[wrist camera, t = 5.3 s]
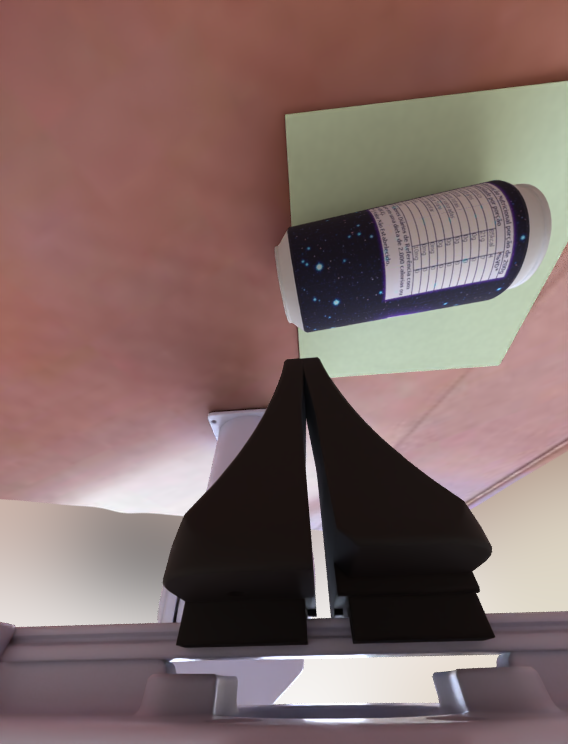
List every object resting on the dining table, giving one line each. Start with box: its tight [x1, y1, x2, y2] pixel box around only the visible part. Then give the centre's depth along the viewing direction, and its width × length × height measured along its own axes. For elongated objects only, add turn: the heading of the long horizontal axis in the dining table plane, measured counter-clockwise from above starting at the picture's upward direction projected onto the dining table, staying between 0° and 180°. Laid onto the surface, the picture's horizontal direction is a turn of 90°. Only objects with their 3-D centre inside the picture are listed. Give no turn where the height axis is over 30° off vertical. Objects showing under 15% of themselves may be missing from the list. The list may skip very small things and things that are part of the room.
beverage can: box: [275, 180, 552, 333], centre depth 14 cm, size 6×6×12 cm
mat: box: [285, 81, 568, 378], centre depth 18 cm, size 17×17×1 cm
